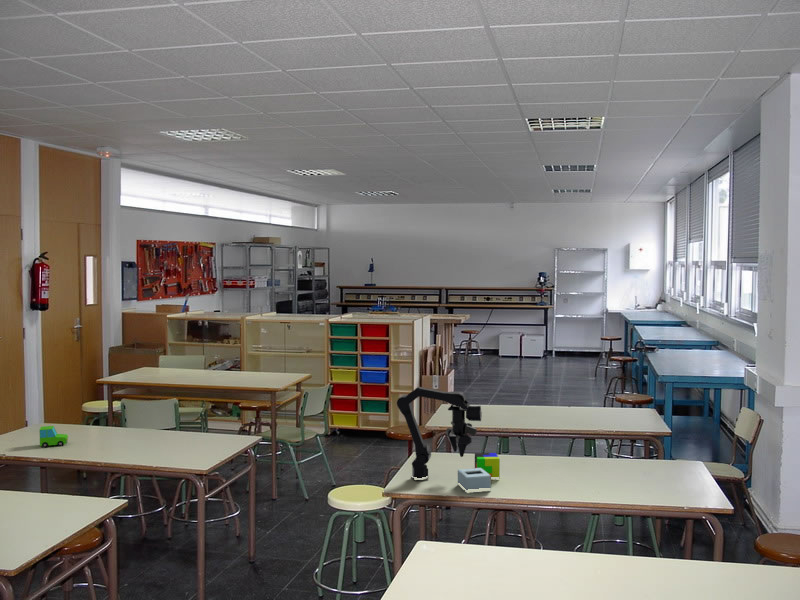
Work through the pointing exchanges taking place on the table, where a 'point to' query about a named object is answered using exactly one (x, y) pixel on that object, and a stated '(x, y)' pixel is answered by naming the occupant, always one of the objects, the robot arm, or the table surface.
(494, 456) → the puzzle toy
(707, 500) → the table surface
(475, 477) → the money box
